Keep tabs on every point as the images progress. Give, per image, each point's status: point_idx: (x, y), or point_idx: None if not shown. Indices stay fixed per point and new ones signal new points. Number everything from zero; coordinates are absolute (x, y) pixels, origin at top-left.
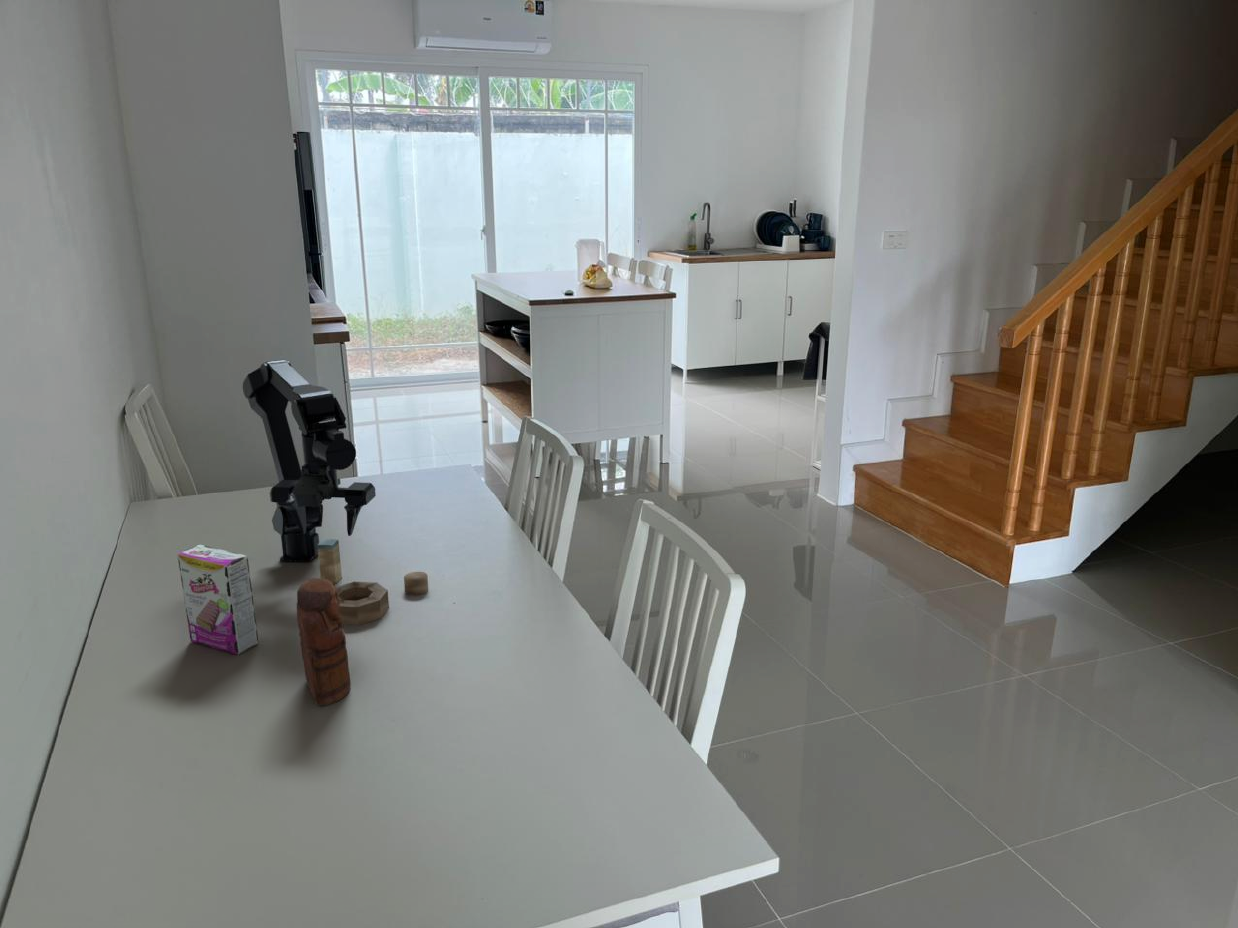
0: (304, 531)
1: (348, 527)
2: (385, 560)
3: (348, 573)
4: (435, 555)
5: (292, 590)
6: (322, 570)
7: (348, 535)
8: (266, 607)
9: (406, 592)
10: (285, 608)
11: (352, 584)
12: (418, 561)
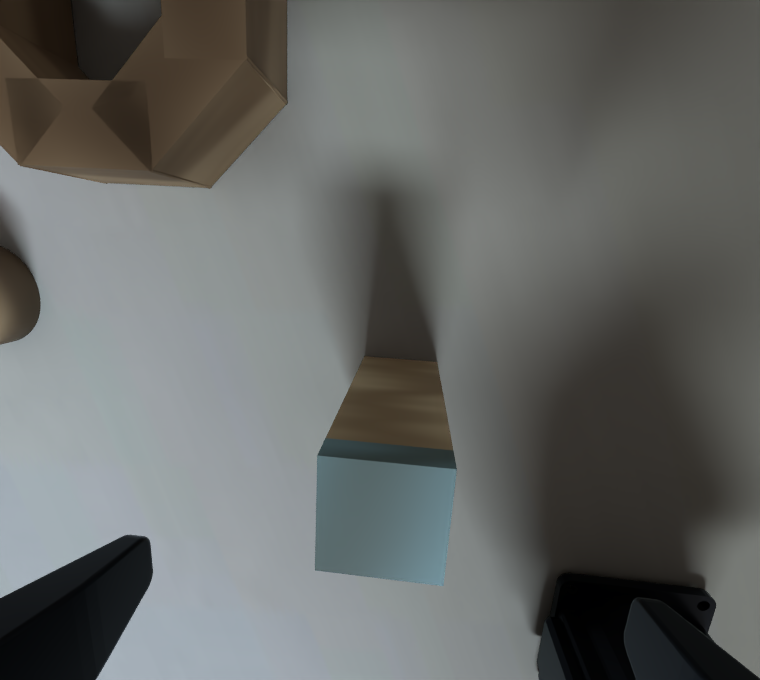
0: (642, 634)
1: (30, 604)
2: (239, 579)
3: None
4: None
5: (554, 272)
6: (426, 382)
7: (139, 537)
8: (641, 43)
9: (12, 257)
10: (528, 39)
11: (145, 124)
12: None
